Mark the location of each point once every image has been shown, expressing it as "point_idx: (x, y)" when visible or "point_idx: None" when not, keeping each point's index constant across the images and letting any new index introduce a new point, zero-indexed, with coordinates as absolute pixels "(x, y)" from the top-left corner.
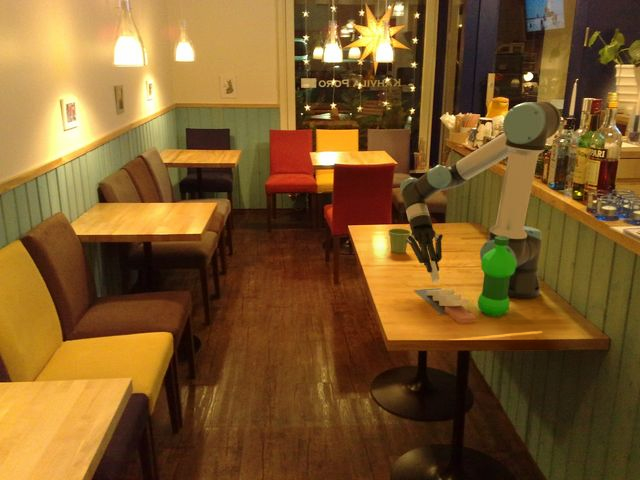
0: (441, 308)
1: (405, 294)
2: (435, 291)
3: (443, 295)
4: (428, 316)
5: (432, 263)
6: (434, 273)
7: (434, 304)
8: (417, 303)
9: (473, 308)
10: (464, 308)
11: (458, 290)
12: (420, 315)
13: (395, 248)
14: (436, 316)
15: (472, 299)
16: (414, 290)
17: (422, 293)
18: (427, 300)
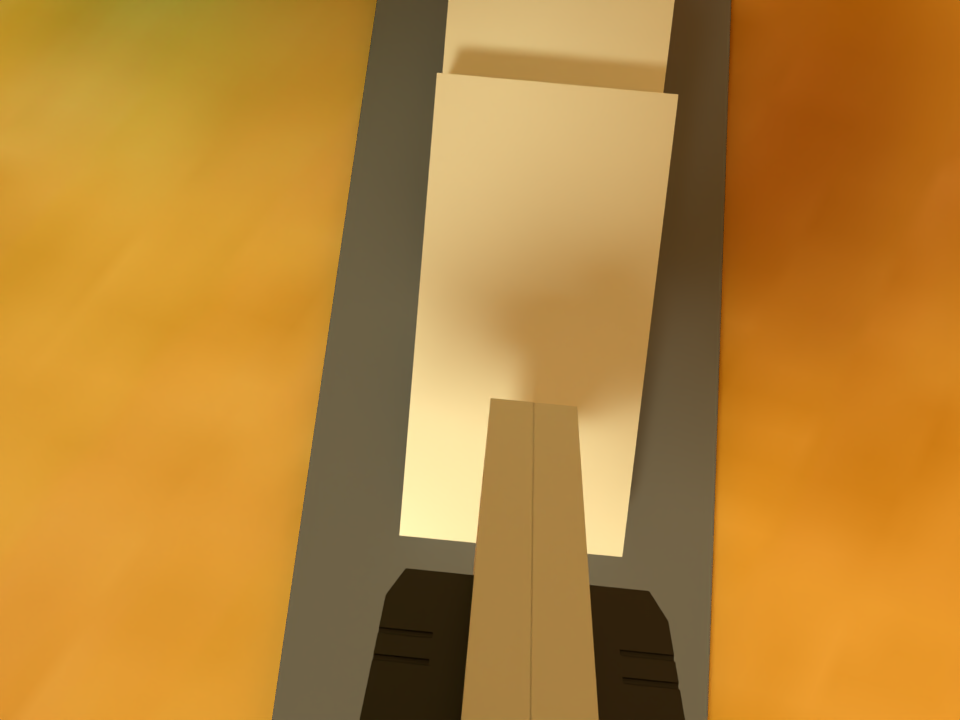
0: None
1: (849, 713)
2: (657, 245)
3: (630, 68)
4: (854, 25)
5: (559, 704)
6: (573, 483)
7: (664, 230)
8: (820, 374)
9: (253, 67)
10: (385, 37)
11: (31, 636)
12: (929, 68)
13: None
14: (770, 3)
15: (77, 295)
16: None
17: None
18: (687, 367)
